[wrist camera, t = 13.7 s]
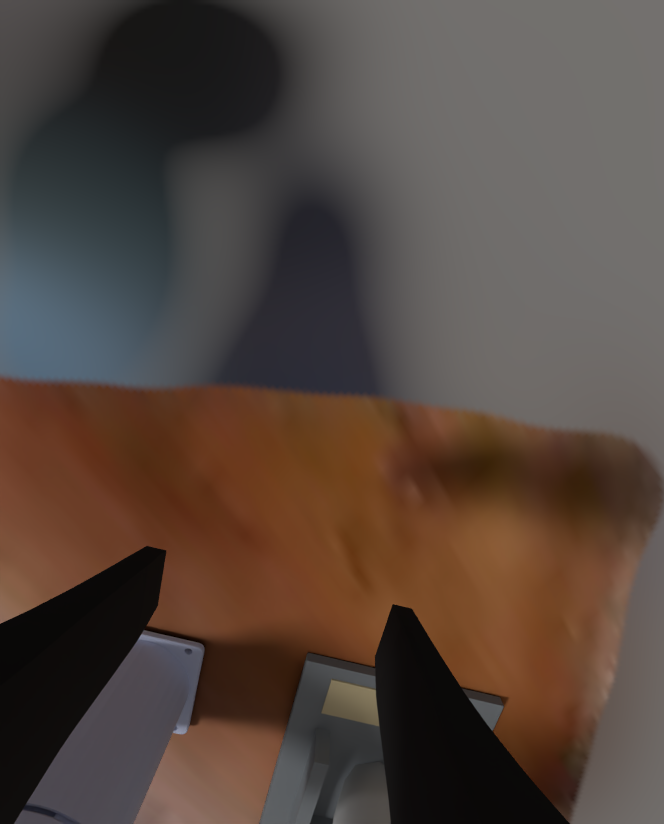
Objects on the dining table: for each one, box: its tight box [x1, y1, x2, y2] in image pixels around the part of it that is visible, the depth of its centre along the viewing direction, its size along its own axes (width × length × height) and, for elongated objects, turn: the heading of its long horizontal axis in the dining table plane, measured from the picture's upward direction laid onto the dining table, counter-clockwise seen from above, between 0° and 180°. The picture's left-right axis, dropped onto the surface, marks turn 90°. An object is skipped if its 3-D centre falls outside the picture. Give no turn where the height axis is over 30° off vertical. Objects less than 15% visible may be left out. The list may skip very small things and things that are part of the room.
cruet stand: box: [259, 653, 504, 824], centre depth 24 cm, size 14×18×3 cm
